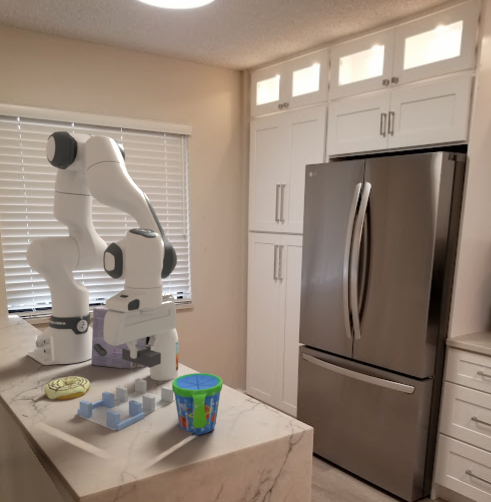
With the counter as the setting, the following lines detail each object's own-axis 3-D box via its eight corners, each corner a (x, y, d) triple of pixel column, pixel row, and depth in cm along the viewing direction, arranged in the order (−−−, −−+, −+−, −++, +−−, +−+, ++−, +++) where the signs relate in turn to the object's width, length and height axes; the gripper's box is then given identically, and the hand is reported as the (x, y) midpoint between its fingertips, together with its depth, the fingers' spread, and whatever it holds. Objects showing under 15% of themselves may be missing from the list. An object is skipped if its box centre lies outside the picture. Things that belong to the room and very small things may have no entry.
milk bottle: (172, 385, 114) (172, 311, 113) (145, 382, 115) (145, 310, 114) (182, 375, 121) (182, 306, 120) (157, 373, 123) (157, 305, 122)
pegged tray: (75, 419, 93) (75, 401, 93) (137, 392, 108) (137, 377, 108) (116, 436, 86) (116, 416, 86) (177, 405, 101) (177, 388, 101)
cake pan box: (156, 366, 129) (156, 308, 128) (148, 371, 124) (148, 312, 123) (99, 361, 133) (99, 305, 132) (90, 366, 129) (89, 308, 128)
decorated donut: (46, 408, 99) (46, 392, 99) (43, 392, 108) (42, 378, 108) (93, 399, 104) (92, 384, 104) (85, 385, 114) (85, 371, 113)
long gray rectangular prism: (122, 358, 103) (122, 348, 102) (133, 355, 105) (133, 345, 105) (150, 367, 97) (150, 356, 97) (160, 363, 100) (160, 353, 100)
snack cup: (176, 412, 97) (176, 368, 97) (222, 411, 98) (222, 368, 97) (167, 447, 82) (167, 396, 81) (222, 446, 82) (222, 395, 82)
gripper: (164, 290, 110) (164, 342, 111) (99, 302, 93) (99, 363, 94) (183, 293, 107) (182, 347, 108) (118, 306, 90) (118, 369, 91)
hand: (142, 354), depth 101 cm, fingers closed on long gray rectangular prism, 3 cm apart
